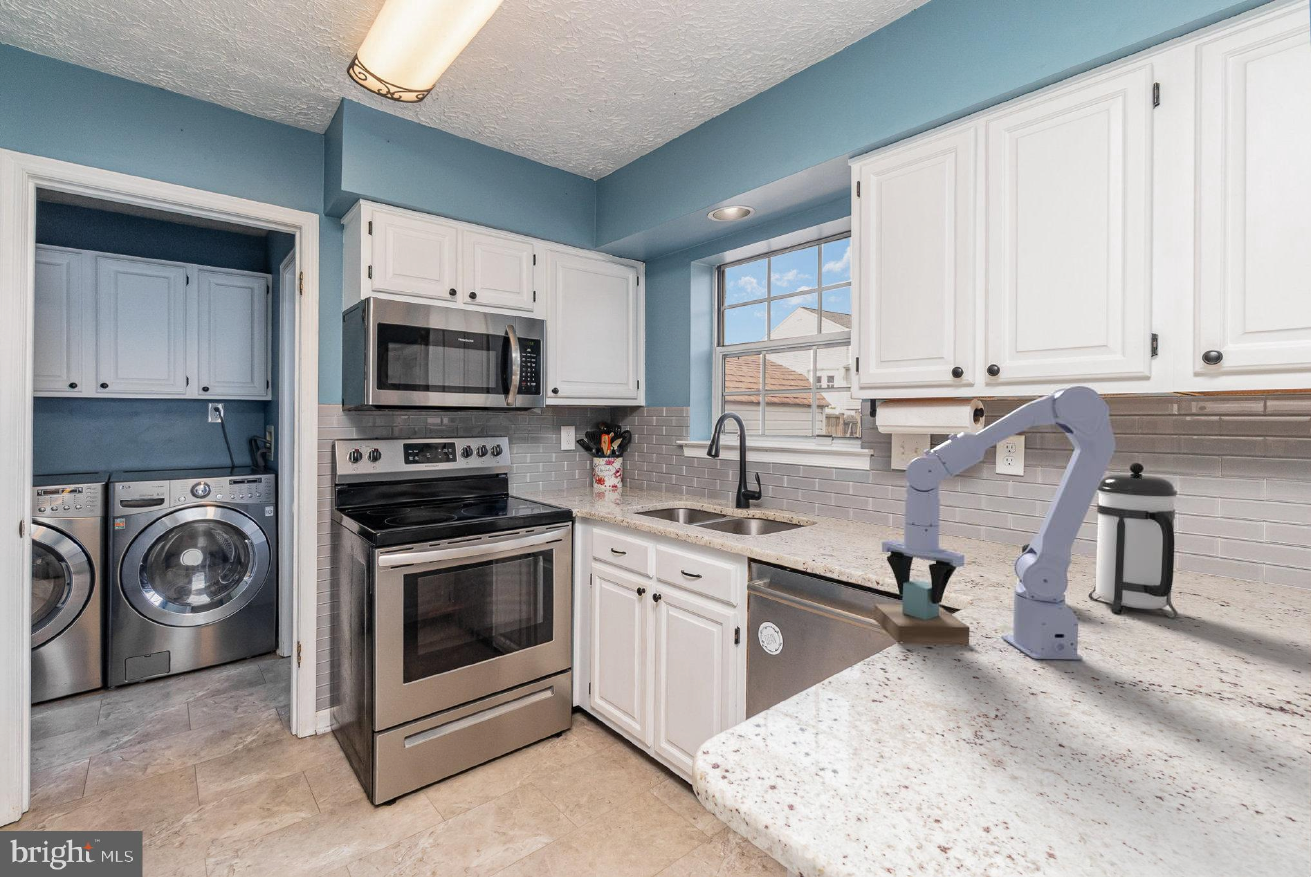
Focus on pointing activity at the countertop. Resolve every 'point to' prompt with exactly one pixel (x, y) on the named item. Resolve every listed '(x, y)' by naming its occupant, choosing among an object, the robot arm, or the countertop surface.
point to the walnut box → (921, 626)
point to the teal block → (919, 600)
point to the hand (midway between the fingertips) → (919, 598)
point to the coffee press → (1135, 541)
